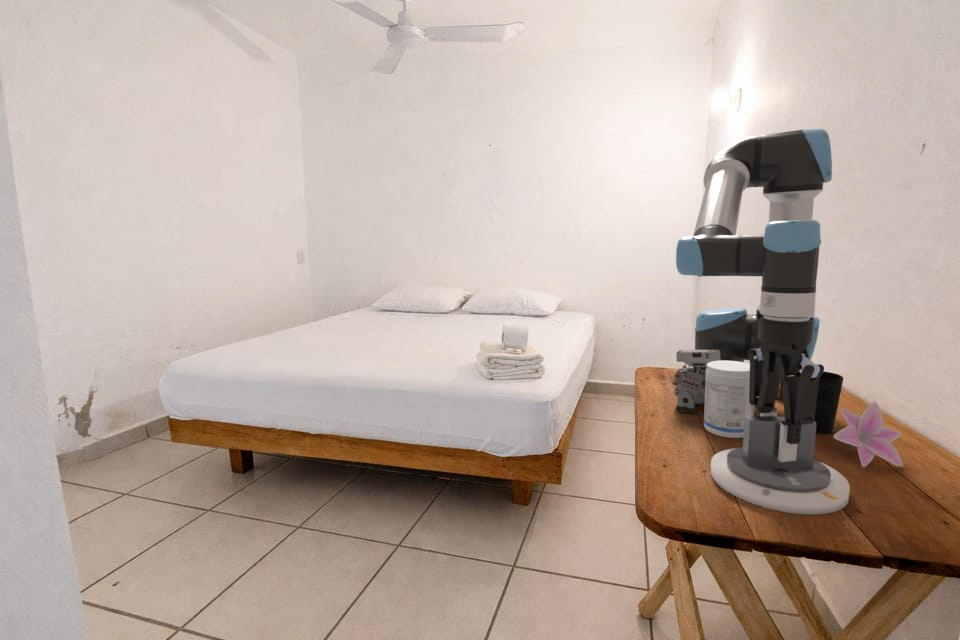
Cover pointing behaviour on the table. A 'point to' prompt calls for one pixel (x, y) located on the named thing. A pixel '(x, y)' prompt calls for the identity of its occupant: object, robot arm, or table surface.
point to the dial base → (782, 491)
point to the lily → (869, 435)
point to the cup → (827, 402)
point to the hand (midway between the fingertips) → (776, 454)
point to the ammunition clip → (779, 391)
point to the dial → (762, 457)
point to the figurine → (692, 377)
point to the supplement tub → (727, 398)
